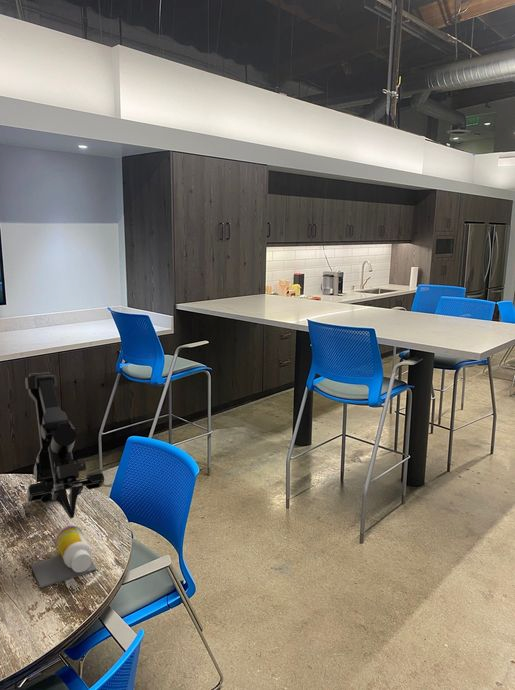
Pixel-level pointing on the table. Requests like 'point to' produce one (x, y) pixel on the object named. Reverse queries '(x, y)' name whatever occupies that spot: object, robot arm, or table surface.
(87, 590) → the table surface
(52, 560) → the mat
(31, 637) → the table surface
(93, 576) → the table surface
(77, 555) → the supplement bottle
